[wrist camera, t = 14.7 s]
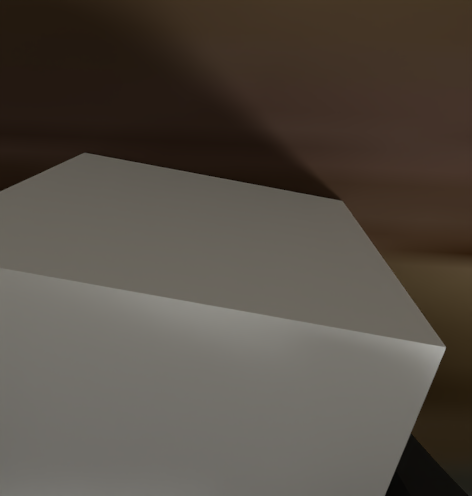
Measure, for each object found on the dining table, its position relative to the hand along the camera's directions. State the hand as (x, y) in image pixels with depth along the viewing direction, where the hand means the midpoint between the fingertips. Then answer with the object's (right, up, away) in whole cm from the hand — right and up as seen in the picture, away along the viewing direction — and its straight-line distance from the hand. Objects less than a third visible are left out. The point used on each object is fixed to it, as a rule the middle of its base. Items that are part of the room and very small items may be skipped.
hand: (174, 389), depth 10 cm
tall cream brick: (0, +1, +2) cm, 2 cm away
